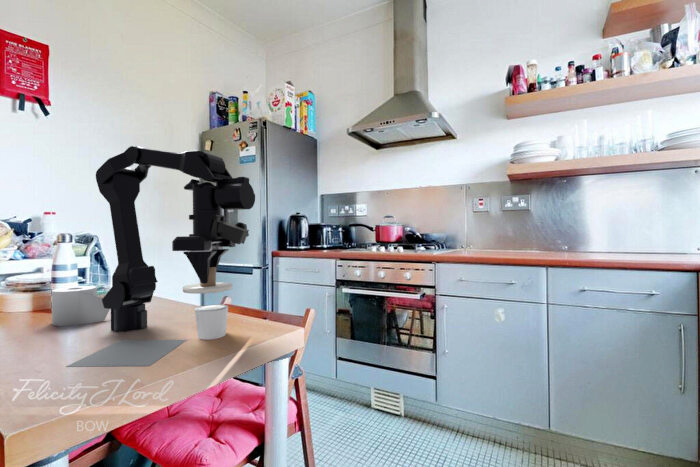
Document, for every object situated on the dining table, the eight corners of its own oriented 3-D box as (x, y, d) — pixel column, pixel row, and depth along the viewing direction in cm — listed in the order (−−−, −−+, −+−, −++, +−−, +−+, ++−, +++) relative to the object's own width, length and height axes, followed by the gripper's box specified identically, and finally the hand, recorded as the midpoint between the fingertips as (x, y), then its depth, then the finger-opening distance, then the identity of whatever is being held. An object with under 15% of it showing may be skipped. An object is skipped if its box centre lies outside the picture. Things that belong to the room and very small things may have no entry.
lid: (173, 293, 69) (173, 270, 69) (195, 285, 79) (195, 265, 79) (222, 293, 69) (222, 269, 69) (238, 285, 79) (238, 265, 79)
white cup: (233, 334, 78) (233, 304, 78) (219, 344, 71) (219, 311, 71) (205, 333, 79) (205, 303, 79) (188, 343, 72) (188, 310, 72)
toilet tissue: (111, 320, 90) (111, 288, 90) (46, 327, 84) (46, 292, 84) (116, 313, 98) (116, 283, 98) (57, 319, 92) (56, 287, 92)
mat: (66, 371, 58) (66, 366, 57) (120, 343, 72) (120, 340, 72) (149, 370, 58) (149, 365, 58) (187, 343, 72) (187, 339, 72)
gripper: (228, 207, 65) (229, 289, 65) (256, 212, 83) (256, 276, 83) (170, 207, 65) (171, 289, 65) (210, 213, 83) (211, 276, 83)
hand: (207, 282), depth 74 cm, fingers closed on lid, 3 cm apart
